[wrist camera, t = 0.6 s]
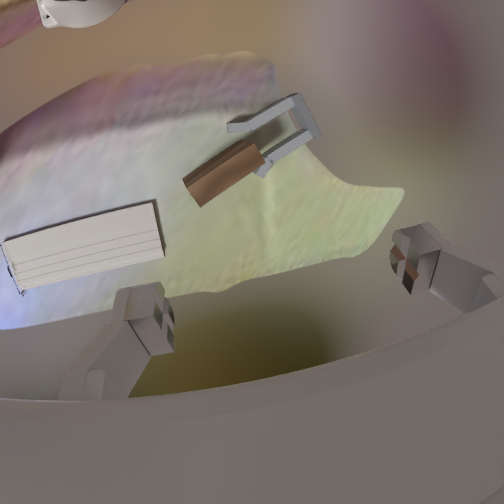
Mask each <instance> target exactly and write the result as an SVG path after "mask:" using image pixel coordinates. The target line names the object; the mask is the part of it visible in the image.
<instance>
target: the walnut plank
mask: <svg viewBox="0 0 504 504" xmlns="http://www.w3.org/2000/svg"><path fill="white" fill-rule="evenodd" d="M265 163H266V162H265V160H264V158H263V157H262V155H261V153H260V152H259V150H258V148H257V147H256V145H255V143H252V142H248V141H243V140H240V141H238V142H236V143H235V144H233V145H232V146H230V147H229V148H227V149H226V150H224V151H223V152H221V153H220V154H218V155H217V156H215V157H214V158H212V159H211V160H209V161H208V162H206V163H205V164H203V165H202V166H200V167H199V168H197V169H196V170H195V171H193V172H192V173H190V174H189V175H187V176H186V177H185V178H183V179H182V180H183V182H184V184H185V186H186V188H187V190H188V191H189V192H190V194H191V195H192V197H193V198H194V199H195V201H196V202H197V204H198V205H199V206H200V207H202V206H203V205H204V204H206V203H207V202H209V201H210V200H212V199H213V198H214V197H216V196H217V195H219V194H220V193H222V192H223V191H225V190H226V189H227V188H229V187H230V186H232V185H233V184H235V183H236V182H238V181H239V180H241V179H242V178H244V177H245V176H247V175H248V174H250V173H251V172H253V171H254V170H256V169H257V168H259V167H260V166H262V165H263V164H265Z"/></svg>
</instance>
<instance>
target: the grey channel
mask: <svg viewBox="0 0 504 504" xmlns="http://www.w3.org/2000/svg"><path fill="white" fill-rule="evenodd" d="M290 108H291V110H292V111H293V113H294V115H295V117H296V119H297V121H298V122H299V124H300V126H301V128H302V130H300V131H298V132H297V133H295V134H293V135H292V136H290V137H289V138H287V139H285V140H284V141H282V142H281V143H279V144H277V145H276V146H274V147H273V148H271V149H269V150H268V151H266V152H265V153H263V154H262V155H263V156H262V157H263V158H264V160H265V162H266V163H265V164H263V165H262V166H260V167H259V168H257V169H256V170H254V171H253V173H255V174H257V175H258V176H260V177H262V178H264V177H265V175H266V174H267V172H268V170H269V168H270V167H271V165H272V164H273V163H275V162H276V161H278V160H279V159H281V158H283V157H284V156H286V155H287V154H289V153H290V152H292V151H294V150H295V149H297V148H298V147H300V146H301V145H303V144H305V143H306V142H308V141H309V140H311V139H313V138H314V139H316V138H318V137H319V136H321V135H322V134H321V132H320V130H319V128H318V126H317V124H316V122H315V120H314V118H313V116H312V114H311V113H310V111H309V109H308V107H307V105H306V103H305V101H304V99H303V98H302V96H301V94H300V93H295V94H290V95H289V96H287V97H285V98H283V99H281V100H280V101H278V102H276V103H274V104H272V105H271V106H269V107H267V108H266V109H264V110H262V111H260V112H259V113H257V114H255V115H254V116H252V117H250V118H249V119H247V120H245V121H244V122H239V123H227V133H236V132H250V131H253V130H255V129H257V128H258V127H260V126H261V125H263V124H265V123H266V122H268V121H270V120H271V119H273V118H275V117H276V116H278V115H280V114H282V113H283V112H285V111H287V110H289V109H290Z"/></svg>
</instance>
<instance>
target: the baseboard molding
mask: <svg viewBox="0 0 504 504" xmlns="http://www.w3.org/2000/svg"><path fill="white" fill-rule="evenodd" d="M2 244H3V247H4V250H5V253H6V256H7V258H8V261H9V263H10V266H11V269H12V271H13V273H14V276H15V278H16V281H17V284H18V285H19V286H20V287H21V289H22V290H25V289H29V288H34V287H38V286H42V285H46V284H50V283H55V282H59V281H63V280H67V279H71V278H76V277H80V276H84V275H89V274H93V273H97V272H102V271H106V270H110V269H115V268H119V267H123V266H128V265H132V264H137V263H141V262H145V261H150V260H154V259H159V258H163V257H164V253H163V249H162V245H161V240H160V236H159V231H158V227H157V222H156V217H155V213H154V208H153V203H152V202H150V203H146V204H141V205H137V206H133V207H128V208H124V209H120V210H116V211H112V212H107V213H103V214H99V215H95V216H92V217H88V218H84V219H80V220H76V221H73V222H69V223H65V224H62V225H58V226H54V227H51V228H47V229H44V230H41V231H37V232H34V233H30V234H27V235H24V236H21V237H17V238H14V239H11V240H8V241H5V242H3V243H2ZM0 246H1V244H0ZM1 248H2V247H1ZM2 251H3V250H2ZM4 256H5V255H4ZM5 259H6V258H5ZM6 262H7V261H6ZM7 264H8V263H7ZM8 267H9V266H8ZM8 267H7V268H8ZM8 270H9V268H8ZM8 272H9V273H10V272H11V271H10V270H9V271H8ZM10 274H11V273H10ZM10 276H11V277H13V276H12V275H10ZM14 282H15V281H14ZM15 284H16V283H15ZM17 289H18V288H17ZM18 291H19V290H18ZM22 292H23V291H22ZM19 294H20V292H19ZM21 295H22V293H21ZM23 297H24V296H23Z"/></svg>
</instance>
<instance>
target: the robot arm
mask: <svg viewBox="0 0 504 504" xmlns="http://www.w3.org/2000/svg"><path fill="white" fill-rule="evenodd" d="M125 1H126V0H37V4H38V8H39V11H40V15H41V19H42V22H43V25H44V26H45V27H46V28H53V27H58V26H66V27H71V28H84V27H89V26H92V25H95V24H98V23H100V22H102V21H104V20H106V19H107V18H109V17H110V16H112V15H113V14H114V13H115V12H117V11H118V10H119V9H120V8H121V6H122V5H123V4H124V3H125ZM48 15H49V16H50V17H49V18H47V16H48ZM392 241H393V243H394V244H395V245H394V246H393V248H392V249H391V250H390V264H391V267H392V269H393V271H394V273H395V274H396V275H397V276H399V277H401V278H403V280H402V284H403V285H404V287H405V288H406V289H407V291H408V292H409V294H410V295H414V294H417V293H420V292H423V291H427V290H430V292H432V293H434V294H435V295H437V296H438V297H440V298H441V299H443V300H445V301H446V302H448V303H449V304H451V305H453V306H454V307H456V308H457V309H459V310H460V311H462V312H463V313H465V315H462V316H460V317H458V318H456V319H453V320H451V321H449V322H446V323H444V324H441V325H439V326H436V327H434V328H431V329H429V330H426V331H424V332H422V333H419V334H416V335H413V336H411V337H408V338H405V339H403V340H400V341H397V342H394V343H391V344H389V345H386V346H383V347H380V348H377V349H374V350H371V351H368V352H364V353H361V354H358V355H355V356H351V357H349V358H345V359H341V360H338V361H334V362H331V363H327V364H324V365H320V366H316V367H312V368H308V369H304V370H301V371H296V372H293V373H288V374H284V375H279V376H275V377H270V378H266V379H261V380H256V381H251V382H246V383H241V384H235V385H230V386H224V387H218V388H212V389H205V390H199V391H192V392H184V393H177V394H168V395H160V396H149V397H138V398H128V395H129V393H130V392H131V390H132V388H133V387H134V385H135V383H136V382H137V380H138V378H139V376H140V375H141V373H142V371H143V369H144V368H145V366H146V365H147V363H148V361H149V360H150V358H151V357H150V356H154V355H160V354H165V353H171V352H174V335H173V333H172V331H171V330H172V328H173V327H174V326H175V322H174V321H175V319H174V312H173V309H172V305H171V303H170V301H169V299H167V298H165V297H164V293H165V290H164V288H163V286H162V284H161V283H160V282H153V283H148V284H142V285H137V286H132V287H127V288H122V289H119V290H118V291H117V293H116V297H115V301H114V305H113V309H112V313H111V317H110V322H109V324H106V325H105V326H104V327H103V328H102V329H101V330H100V331H99V332H98V333H97V335H96V336H95V337H94V338H93V339H92V340H91V341H90V342H89V344H88V345H87V346H86V347H85V348H84V349H83V350H82V352H81V353H80V354H79V355H78V356H77V357H76V358H75V360H74V361H73V362H72V363H71V364H70V366H69V367H68V368H67V369H66V370H65V372H64V376H63V381H62V385H61V390H60V394H59V399H58V401H45V400H19V399H5V398H0V504H504V265H503V264H501V263H499V262H496V261H494V260H492V259H490V258H487V257H485V256H483V255H480V254H478V253H475V252H473V251H470V250H468V249H466V248H463V247H461V246H458V245H455V246H454V245H453V244H452V243H451V242H450V241H449V240H448V239H447V238H446V237H445V236H444V235H443V234H442V233H441V232H440V231H439V230H438V229H437V228H436V227H435V226H434V225H433V224H432V223H429V222H426V223H422V224H418V225H416V226H412V227H407V228H403V229H399V230H395V231H394V233H393V235H392Z"/></svg>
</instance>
